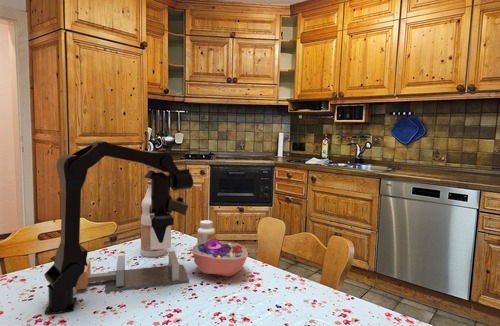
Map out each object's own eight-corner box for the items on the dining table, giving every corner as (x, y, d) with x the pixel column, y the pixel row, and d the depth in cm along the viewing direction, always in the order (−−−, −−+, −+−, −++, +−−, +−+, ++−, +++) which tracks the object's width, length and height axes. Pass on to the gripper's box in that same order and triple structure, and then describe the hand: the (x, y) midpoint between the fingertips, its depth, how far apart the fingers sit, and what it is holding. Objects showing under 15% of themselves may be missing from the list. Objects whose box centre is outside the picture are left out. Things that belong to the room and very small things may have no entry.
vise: (188, 282, 103) (189, 263, 102) (104, 292, 95) (104, 272, 95) (183, 266, 115) (183, 249, 115) (108, 273, 107) (108, 256, 107)
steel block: (170, 248, 104) (171, 226, 104) (151, 249, 102) (151, 227, 102) (169, 243, 108) (169, 223, 108) (150, 245, 106) (150, 224, 106)
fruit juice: (139, 258, 121) (139, 182, 119) (141, 249, 130) (142, 179, 128) (166, 257, 123) (166, 182, 121) (166, 248, 132) (167, 179, 130)
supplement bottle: (216, 252, 130) (216, 220, 129) (212, 258, 124) (213, 224, 123) (199, 250, 131) (200, 219, 130) (195, 256, 125) (195, 223, 123)
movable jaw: (123, 285, 97) (123, 269, 97) (73, 291, 93) (73, 274, 92) (124, 269, 108) (124, 255, 108) (80, 273, 104) (80, 258, 104)
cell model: (225, 291, 98) (226, 254, 97) (180, 272, 110) (180, 239, 109) (258, 273, 112) (259, 240, 111) (215, 258, 124) (215, 229, 123)
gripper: (191, 196, 98) (190, 248, 99) (182, 186, 115) (182, 230, 117) (151, 198, 94) (151, 251, 95) (149, 187, 112) (149, 232, 113)
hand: (160, 240), depth 105 cm, fingers closed on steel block, 4 cm apart
